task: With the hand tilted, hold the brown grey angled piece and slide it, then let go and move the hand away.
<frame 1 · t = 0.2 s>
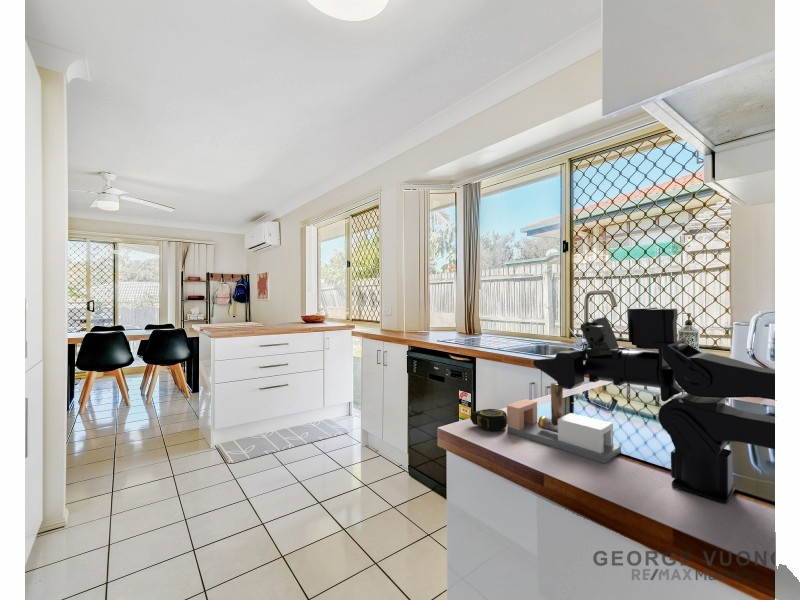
hand: (546, 359, 75), 16 cm above the counter, fingers open, 9 cm apart
tube rig: (564, 442, 73), on the counter
tape measure: (488, 428, 83), on the counter
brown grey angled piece: (569, 411, 73), point 7 cm above the counter, slide at 0.0 cm
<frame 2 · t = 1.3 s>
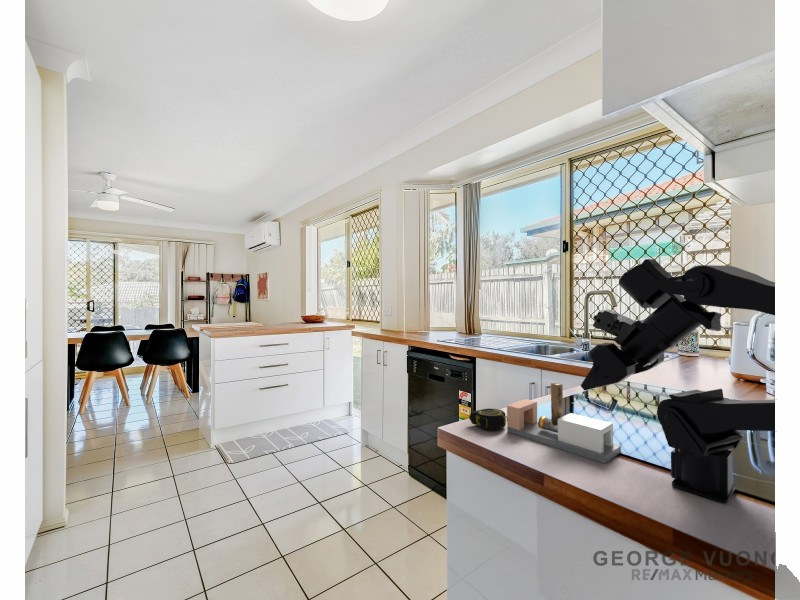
hand: (594, 383, 69), 13 cm above the counter, fingers open, 9 cm apart
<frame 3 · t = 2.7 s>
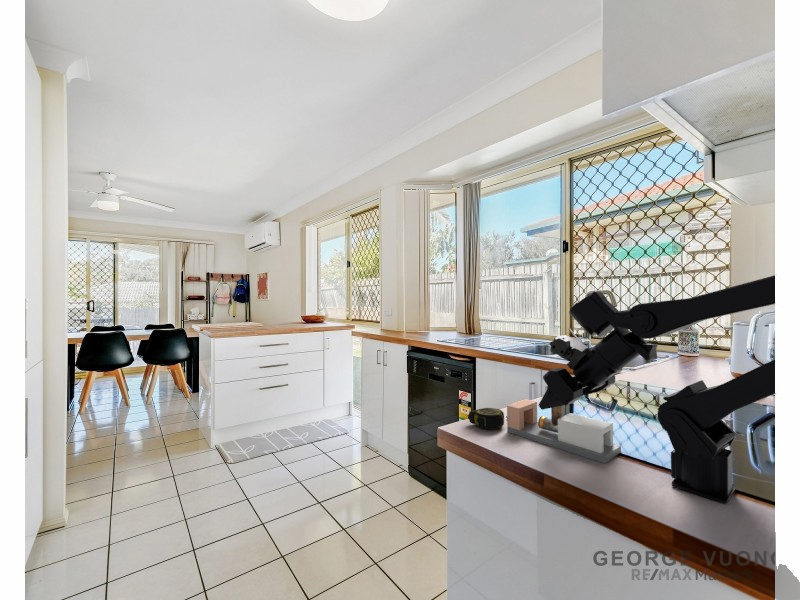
hand: (552, 402, 75), 8 cm above the counter, fingers open, 9 cm apart
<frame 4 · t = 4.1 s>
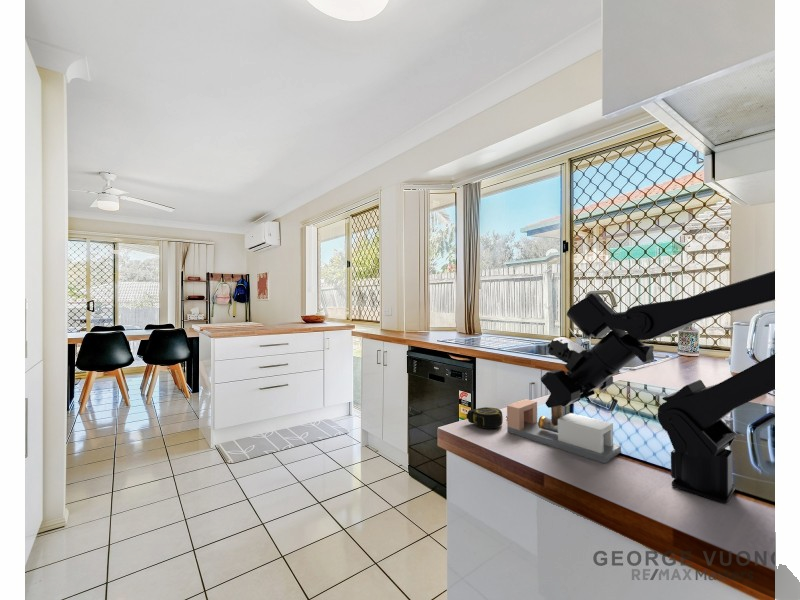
hand: (550, 404, 76), 7 cm above the counter, fingers closed on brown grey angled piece, 2 cm apart
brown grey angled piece: (569, 411, 73), point 7 cm above the counter, slide at 0.0 cm, touching gripper
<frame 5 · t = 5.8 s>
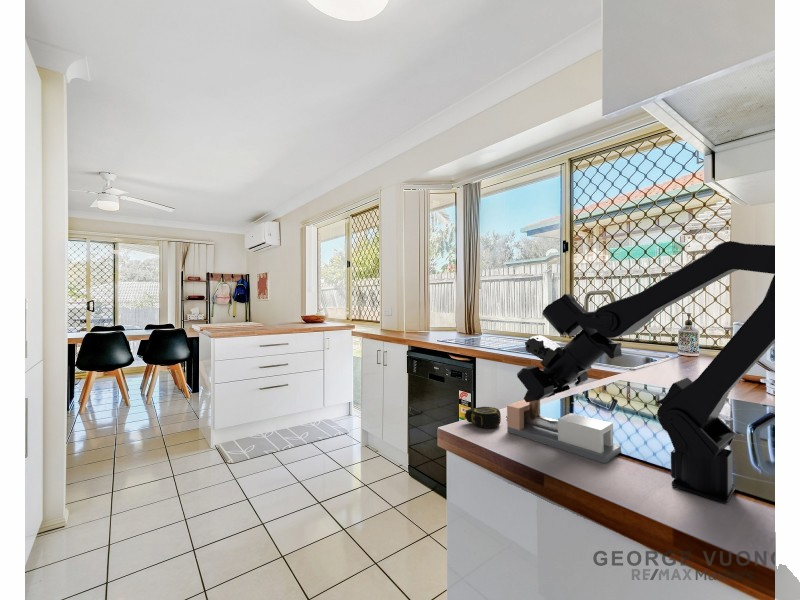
hand: (528, 399, 79), 7 cm above the counter, fingers closed on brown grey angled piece, 2 cm apart
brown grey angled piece: (545, 405, 76), point 7 cm above the counter, slide at 5.0 cm, touching gripper
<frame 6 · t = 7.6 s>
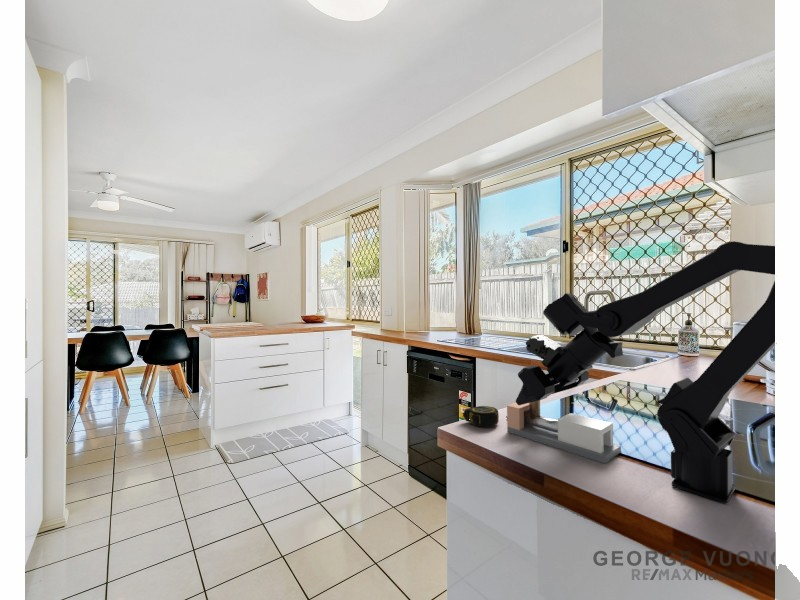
hand: (529, 398, 79), 7 cm above the counter, fingers open, 9 cm apart
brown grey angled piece: (545, 405, 76), point 7 cm above the counter, slide at 5.0 cm
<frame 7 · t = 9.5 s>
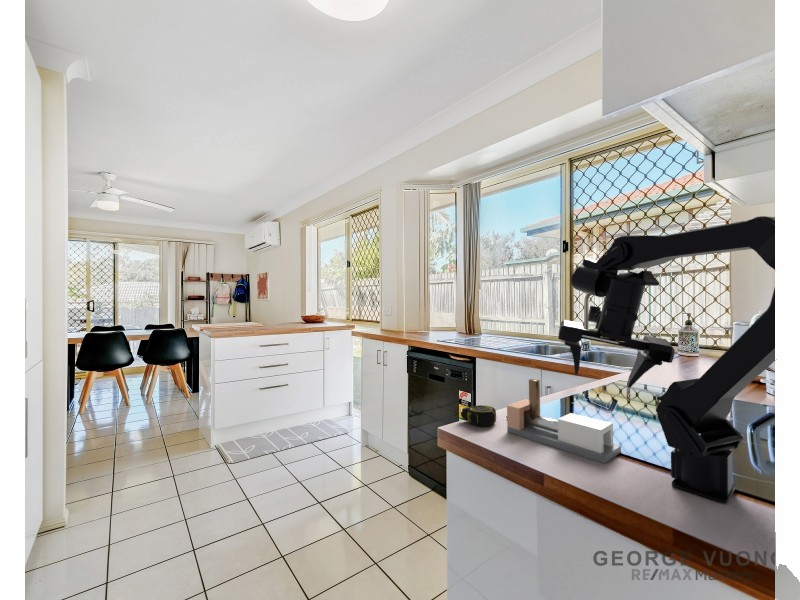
hand: (601, 380, 72), 13 cm above the counter, fingers open, 9 cm apart
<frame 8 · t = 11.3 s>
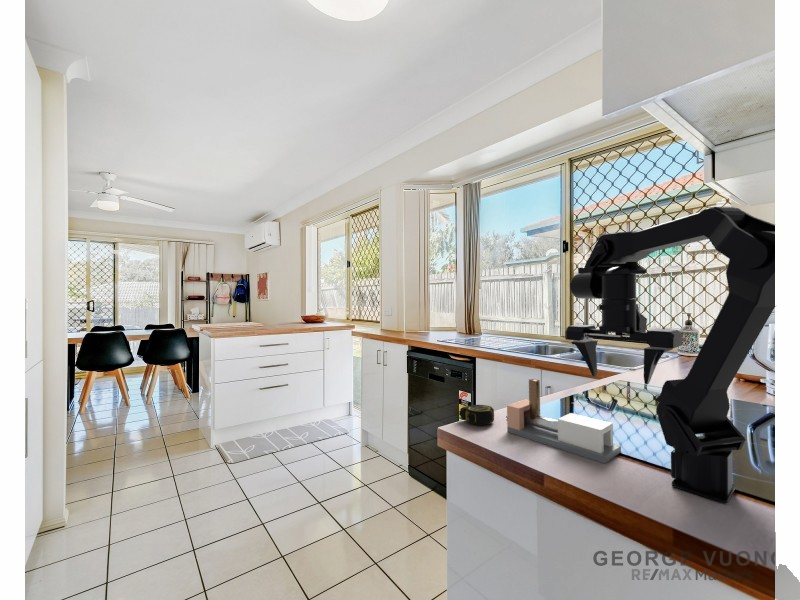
hand: (619, 379, 71), 13 cm above the counter, fingers open, 9 cm apart
at the end: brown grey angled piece slide at 5.0 cm; the gripper is holding nothing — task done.
